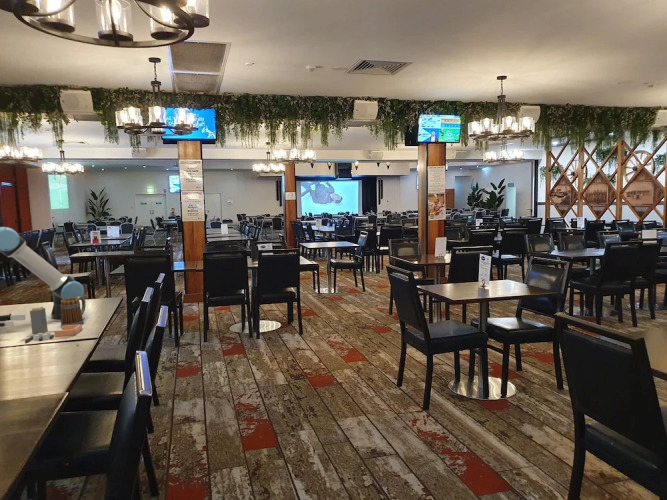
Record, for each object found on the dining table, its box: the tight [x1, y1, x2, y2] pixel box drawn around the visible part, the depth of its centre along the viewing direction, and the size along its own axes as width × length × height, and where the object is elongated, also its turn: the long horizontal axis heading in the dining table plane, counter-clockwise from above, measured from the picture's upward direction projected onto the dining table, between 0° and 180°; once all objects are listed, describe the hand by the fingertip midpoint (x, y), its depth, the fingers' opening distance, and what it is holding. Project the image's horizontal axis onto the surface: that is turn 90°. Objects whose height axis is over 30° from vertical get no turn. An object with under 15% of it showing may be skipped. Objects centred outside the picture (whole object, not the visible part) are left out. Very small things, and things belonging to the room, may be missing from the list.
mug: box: [60, 296, 87, 328], centre depth 257 cm, size 16×11×15 cm
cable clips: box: [34, 332, 51, 342], centre depth 231 cm, size 4×6×2 cm
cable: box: [24, 335, 54, 344], centre depth 230 cm, size 7×11×1 cm
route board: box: [17, 327, 85, 343], centre depth 238 cm, size 18×24×1 cm
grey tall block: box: [29, 306, 49, 335], centre depth 241 cm, size 5×5×13 cm
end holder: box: [54, 324, 83, 337], centre depth 239 cm, size 10×9×3 cm
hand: (19, 320), depth 240 cm, fingers open, 13 cm apart
